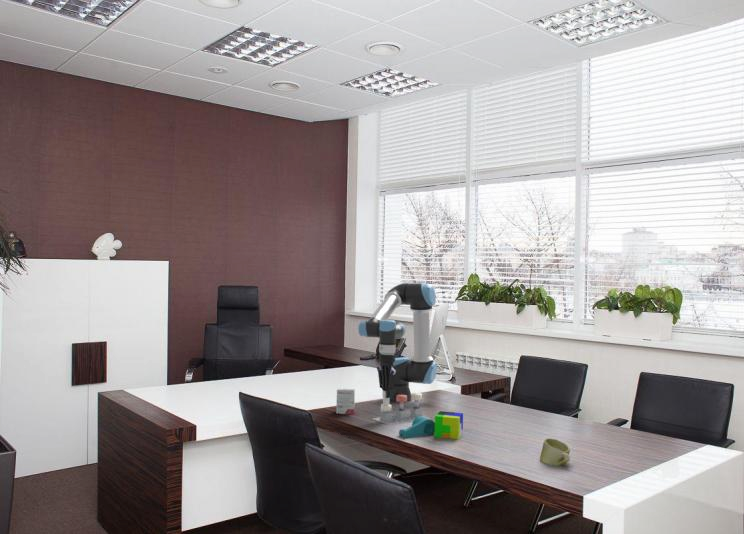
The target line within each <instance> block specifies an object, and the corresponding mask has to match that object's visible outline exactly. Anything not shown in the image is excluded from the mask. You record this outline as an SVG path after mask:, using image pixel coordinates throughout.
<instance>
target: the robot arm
mask: <svg viewBox="0 0 744 534" xmlns="http://www.w3.org/2000/svg"><path fill="white" fill-rule="evenodd" d="M436 298H437V297H436V291H435V287H434V286H433V285H432V284H431V283H418V282H417V283H414V282H413V283H410V282H404V283H399V284H398V285H395V286H394V287H392V288H390V289H389V290H388V291H387V292H386V294H385V295H384V297H383V301H382V302H381V303H380V305H379V306H378V307H377V308H376V310H375V311H374V313H373V314H372V315H371V316H370V318H369V319H368V320H363V321H360V322H359V324H358V329H357V331H358V334H359V335H360V336H361V337H365V338H378V339H379V343H378V345H379V348H378V350H379V351H378V352H379V354H378V362H379V363H380V365H379V366H377V367H376V370H377V374H378V375H377V377H378V383H379V388H380V389H382V404H383V405H389V404H390V403H395V402H397V401H396V396H397V395H407V402H406V403H409V402H411V401H413V400H412V399H411V396H412V392H411V390H410V383H413V384H414V383H415V384H422V385H430V384H433V382H434V381H435V378H436V377H437V372H438V365H437V362H435V361H434V358H433V357H432V355H431V337H430V336H431V334H430V332H431V331H430V329H431V327H430V325H431V323H430V311H431V310H433V307H434V306H435V305H436V300H437V299H436ZM402 305H403V306H404V305H405V306H409V308H410V310H411V312H413V313H412V317H413V323H412V324H413V355H412V357H411V359H410V357H407V356H405V357H396V349H397V348H396V347H397V346H396V343H397V342H396V340H398V339H400V338H402V337H404V336H405V335H406V330H407V329H406V327H405V325H404V324H403V323H402V322H396V321H395V320H394V319H389V318H390V317H391V315H392V314H393V313H394V311H395V310H396V309H397V308H399V307H400V306H402Z"/></svg>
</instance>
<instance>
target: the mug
mask: <svg viewBox="0 0 744 534" xmlns="http://www.w3.org/2000/svg"><path fill="white" fill-rule="evenodd" d="M570 449H571V448H570V447H569V445H568V444H566V443H565V442H562V441H560V440H558V439H556V438H548V437H547V438H546V439H544V441H543V444H542V448H541V453H540V457H539V461H540V462H541V463H543V464H546V465H554V466H563V465H565V464H566V463H569V462H570V458H571V457H570V451H571V450H570Z"/></svg>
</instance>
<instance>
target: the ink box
mask: <svg viewBox="0 0 744 534" xmlns="http://www.w3.org/2000/svg"><path fill="white" fill-rule="evenodd" d="M355 391H356V390H355V388H337V390H336V413H335V414H336V415H337V414H338V413H339V415H340V414H342V415H344V414H345V415H354V414H355V409H356V408H355V404H356V403H355V401H356V400H355V398H356V394H355V393H356V392H355Z"/></svg>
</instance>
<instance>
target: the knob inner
mask: <svg viewBox="0 0 744 534" xmlns="http://www.w3.org/2000/svg"><path fill="white" fill-rule="evenodd" d="M411 399H412V401H414V407H415V408H418V407H419V401H423V394H422V393H420V392H411Z"/></svg>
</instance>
